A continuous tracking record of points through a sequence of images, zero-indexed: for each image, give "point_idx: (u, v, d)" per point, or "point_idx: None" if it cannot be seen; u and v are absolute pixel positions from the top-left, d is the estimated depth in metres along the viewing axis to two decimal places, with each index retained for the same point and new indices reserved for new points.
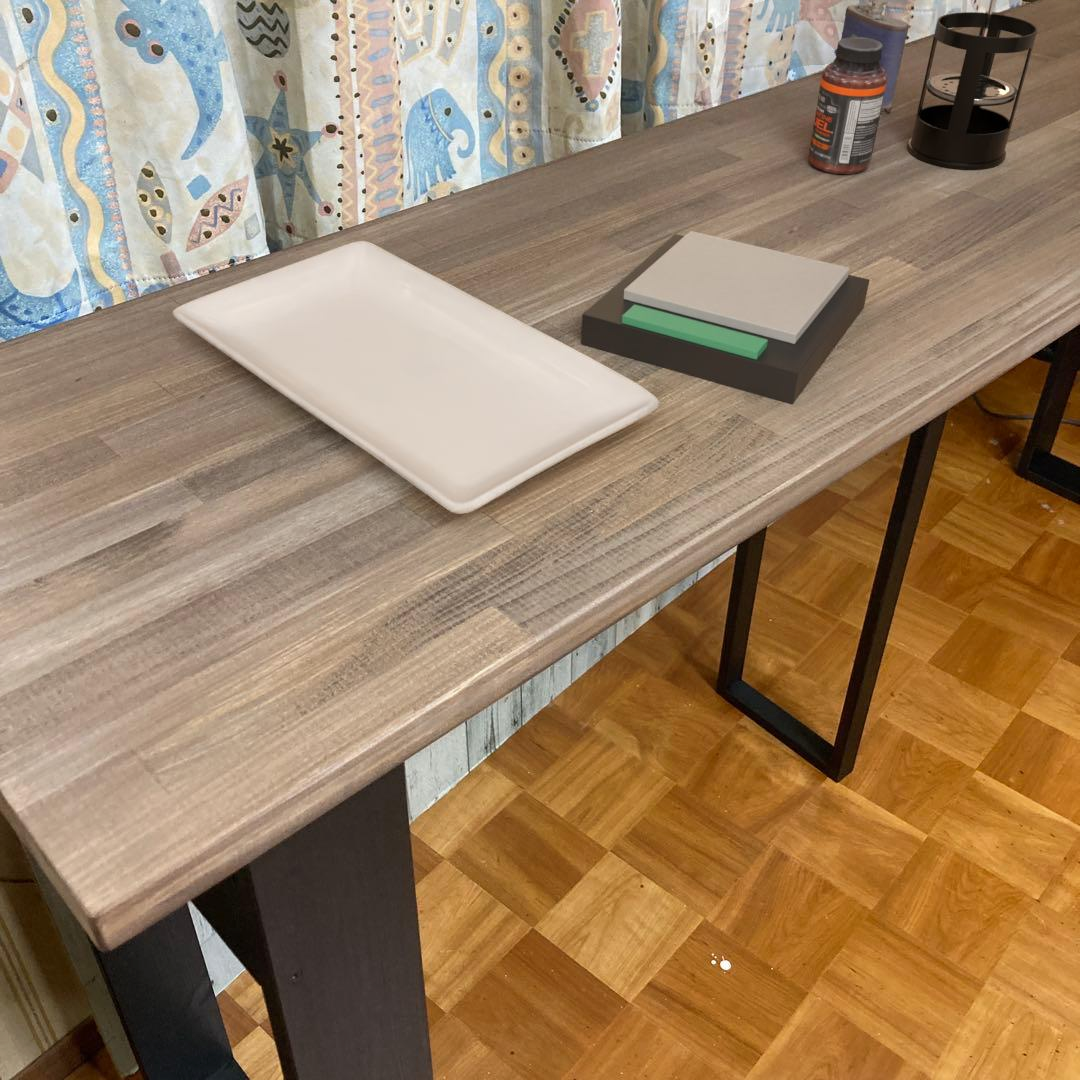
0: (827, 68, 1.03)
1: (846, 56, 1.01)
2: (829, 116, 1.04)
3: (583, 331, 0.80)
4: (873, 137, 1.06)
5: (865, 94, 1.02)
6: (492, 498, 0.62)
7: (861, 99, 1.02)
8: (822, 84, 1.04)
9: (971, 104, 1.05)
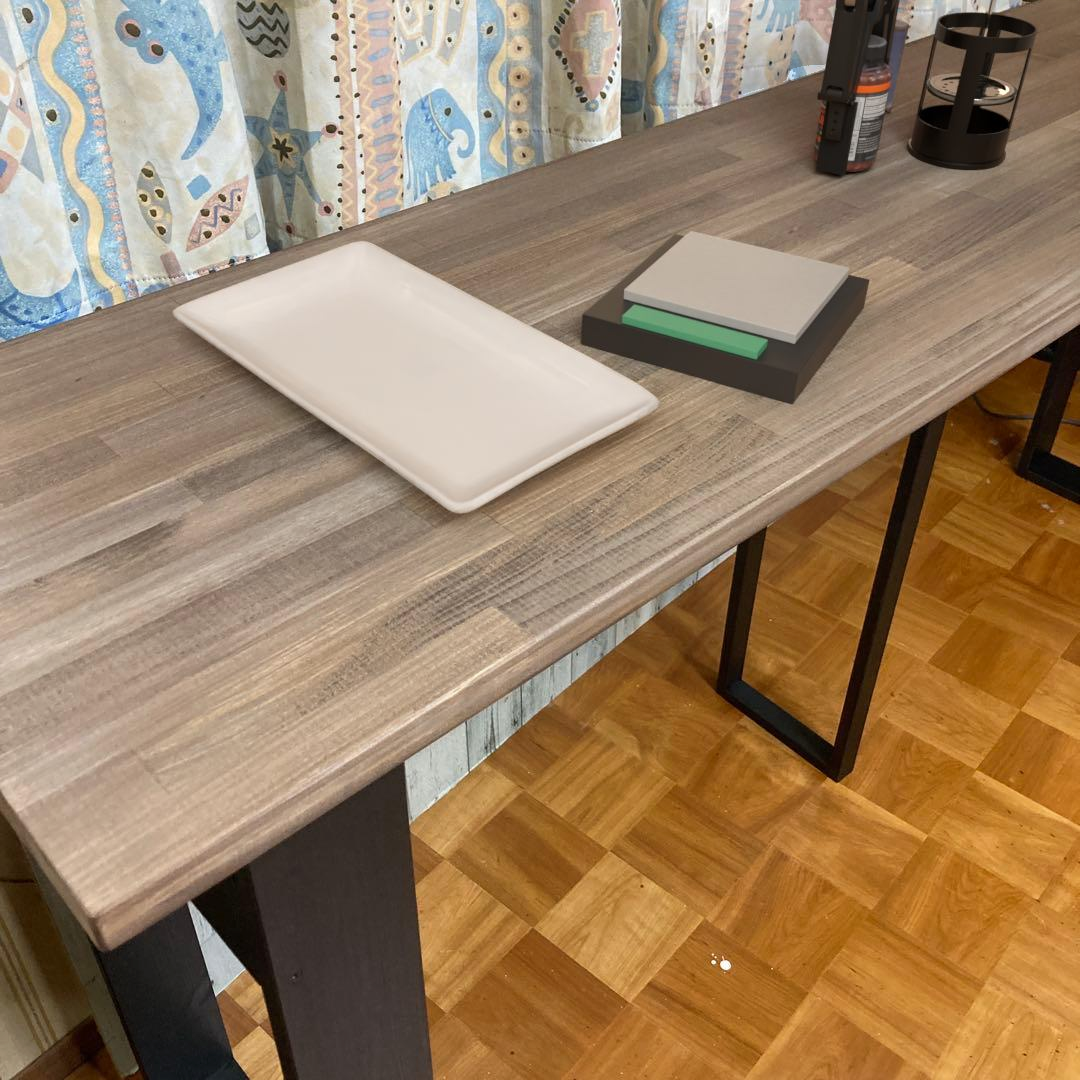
0: None
1: None
2: None
3: (583, 331, 0.80)
4: (878, 133, 1.05)
5: (869, 90, 1.02)
6: (492, 498, 0.62)
7: (865, 96, 1.02)
8: None
9: (971, 104, 1.05)
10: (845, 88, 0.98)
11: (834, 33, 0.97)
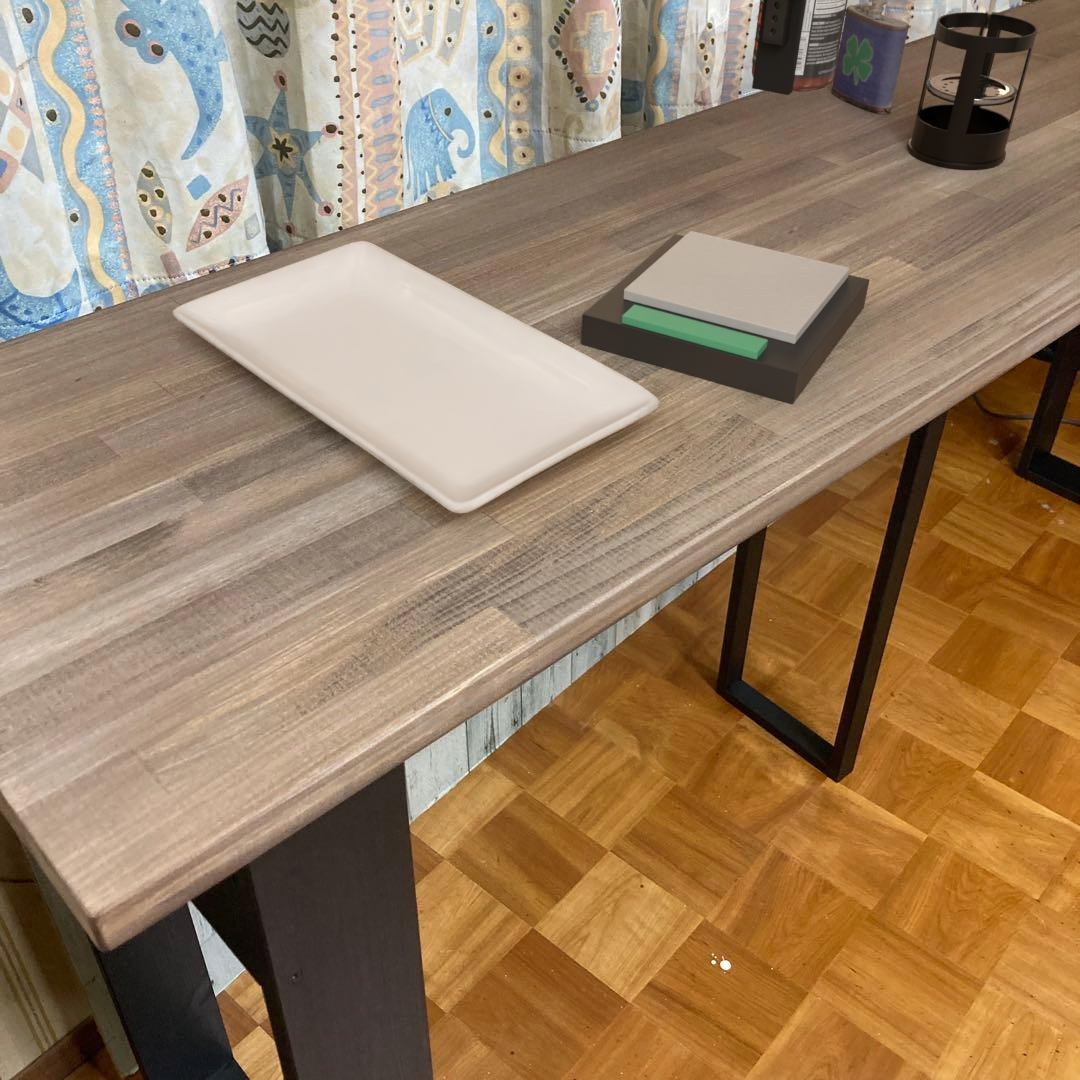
0: None
1: None
2: None
3: (583, 331, 0.80)
4: (837, 38, 0.78)
5: None
6: (492, 498, 0.62)
7: None
8: None
9: (971, 104, 1.05)
10: None
11: None
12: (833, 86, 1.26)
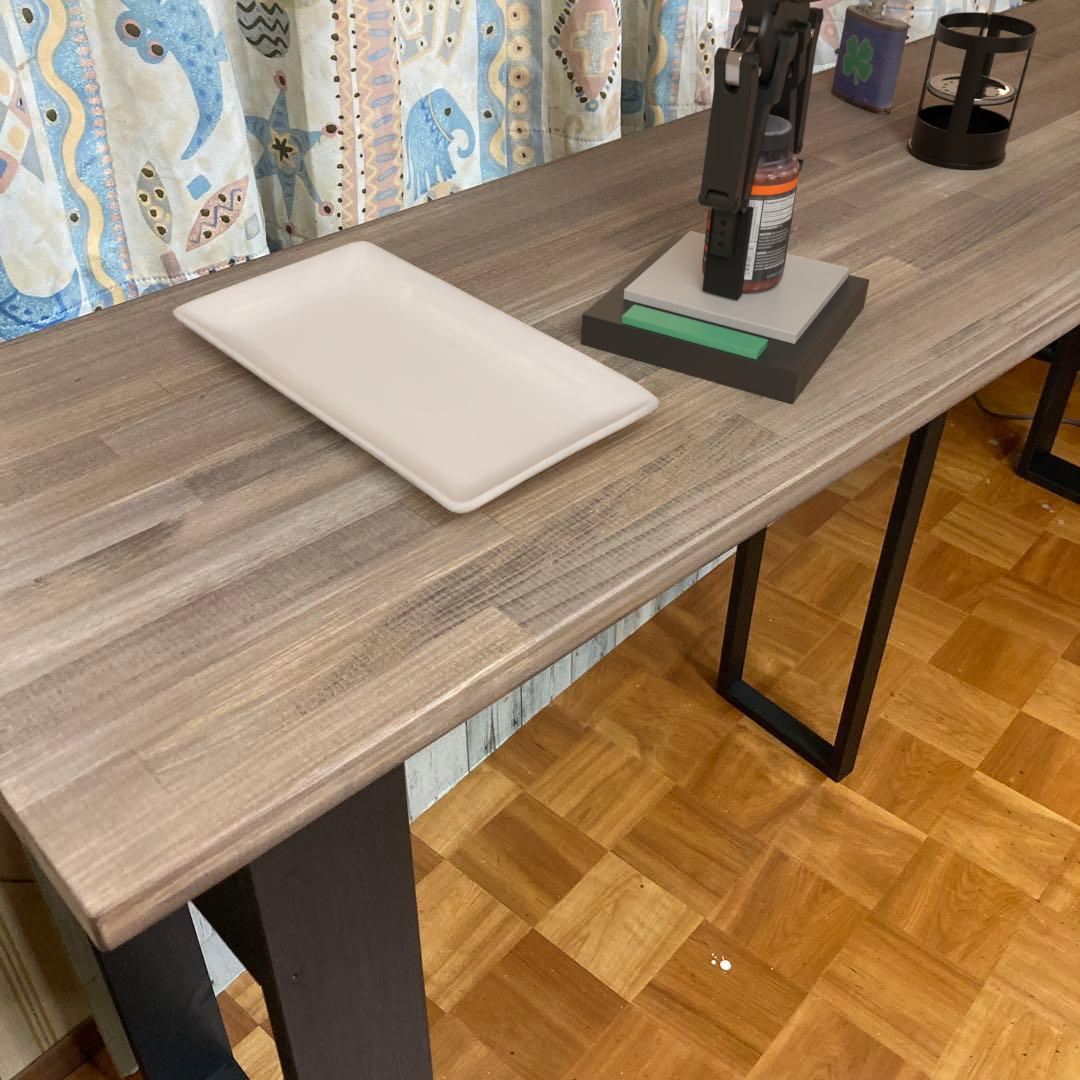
0: None
1: None
2: None
3: (583, 331, 0.80)
4: (784, 244, 0.79)
5: (768, 191, 0.75)
6: (492, 497, 0.62)
7: (763, 199, 0.76)
8: None
9: (971, 104, 1.05)
10: (731, 194, 0.72)
11: (714, 120, 0.70)
12: (833, 86, 1.26)
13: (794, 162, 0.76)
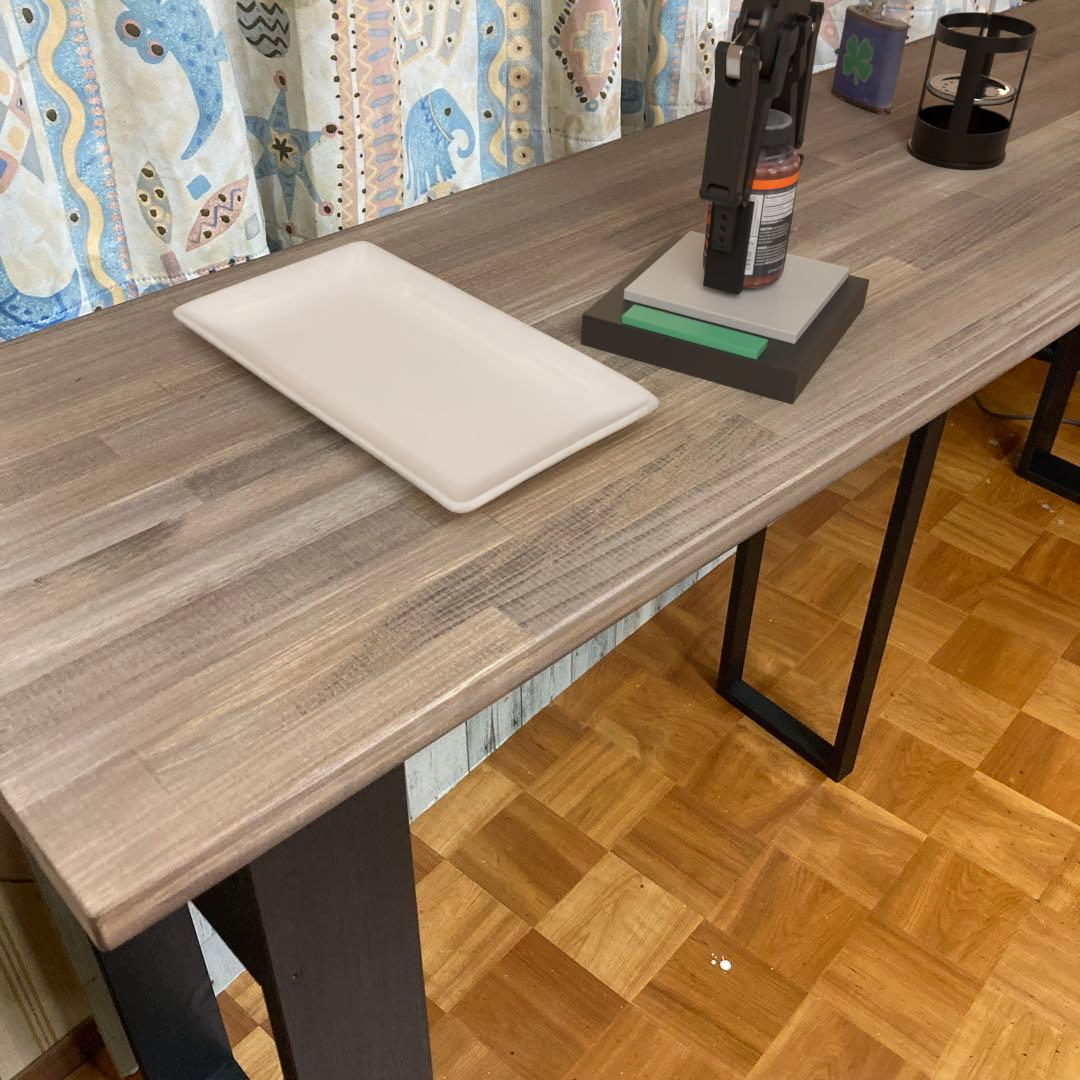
0: None
1: None
2: None
3: (583, 331, 0.80)
4: (785, 239, 0.79)
5: (769, 186, 0.75)
6: (492, 497, 0.62)
7: (763, 193, 0.75)
8: None
9: (971, 104, 1.05)
10: (732, 188, 0.72)
11: (714, 114, 0.70)
12: (833, 86, 1.26)
13: (795, 156, 0.76)
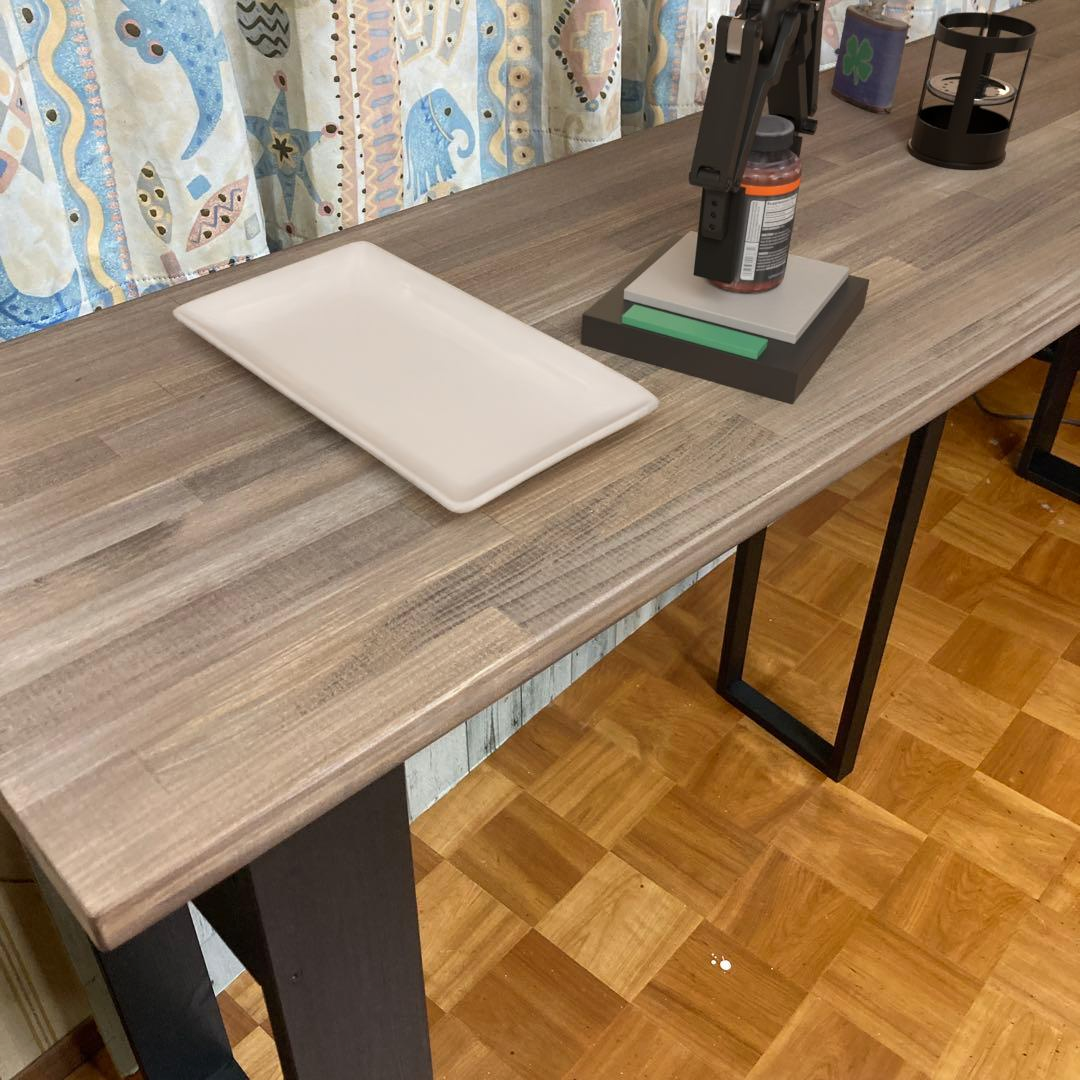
0: None
1: None
2: None
3: (583, 331, 0.80)
4: (786, 245, 0.79)
5: (770, 192, 0.75)
6: (492, 497, 0.62)
7: (765, 199, 0.76)
8: None
9: (971, 104, 1.05)
10: (722, 172, 0.69)
11: (711, 92, 0.68)
12: (833, 86, 1.26)
13: (796, 163, 0.76)
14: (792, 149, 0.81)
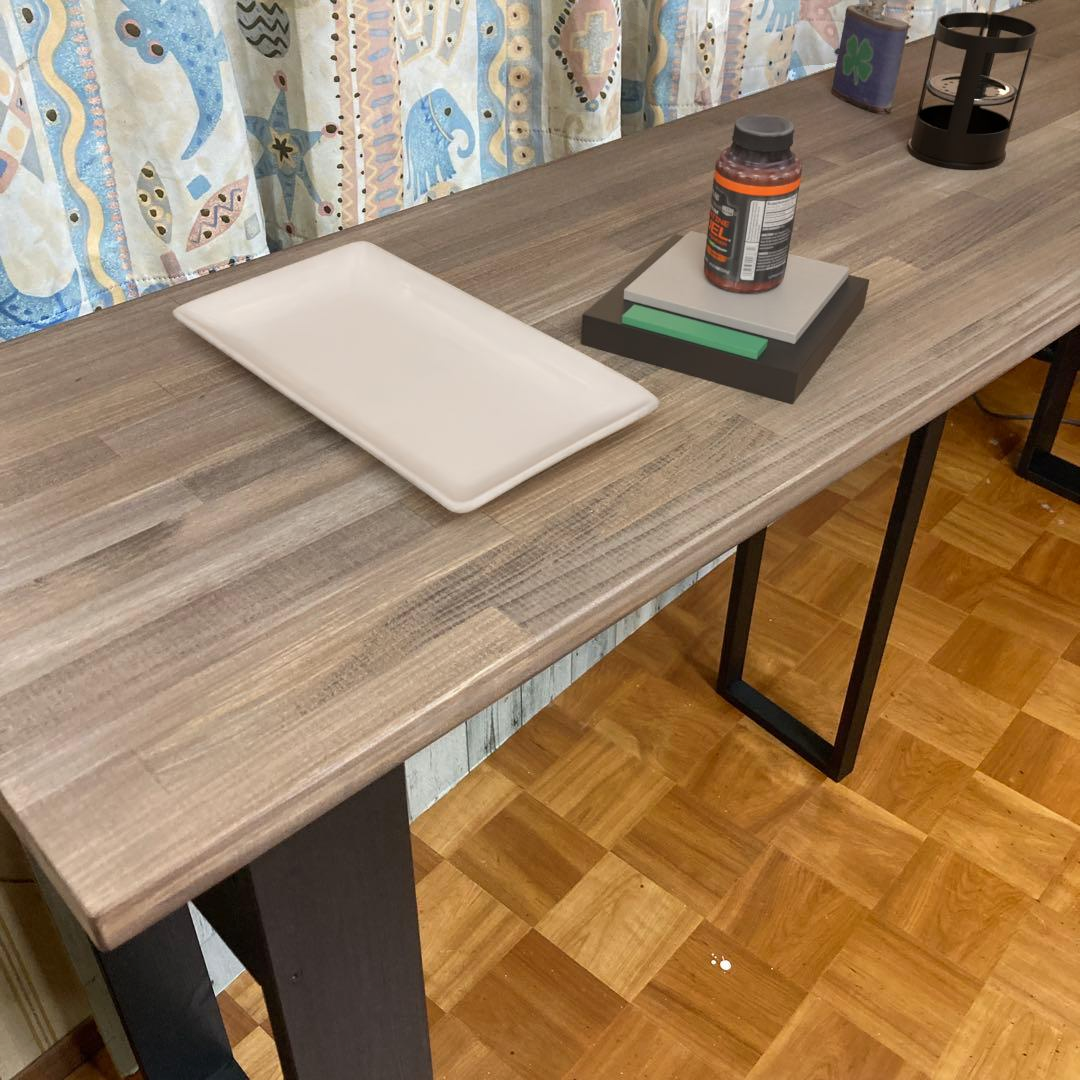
0: (722, 156, 0.77)
1: (744, 141, 0.75)
2: (726, 220, 0.78)
3: (583, 331, 0.80)
4: (786, 245, 0.79)
5: (770, 192, 0.75)
6: (492, 497, 0.62)
7: (765, 199, 0.76)
8: (715, 177, 0.77)
9: (971, 104, 1.05)
10: None
11: None
12: (833, 86, 1.26)
13: (796, 163, 0.76)
14: None
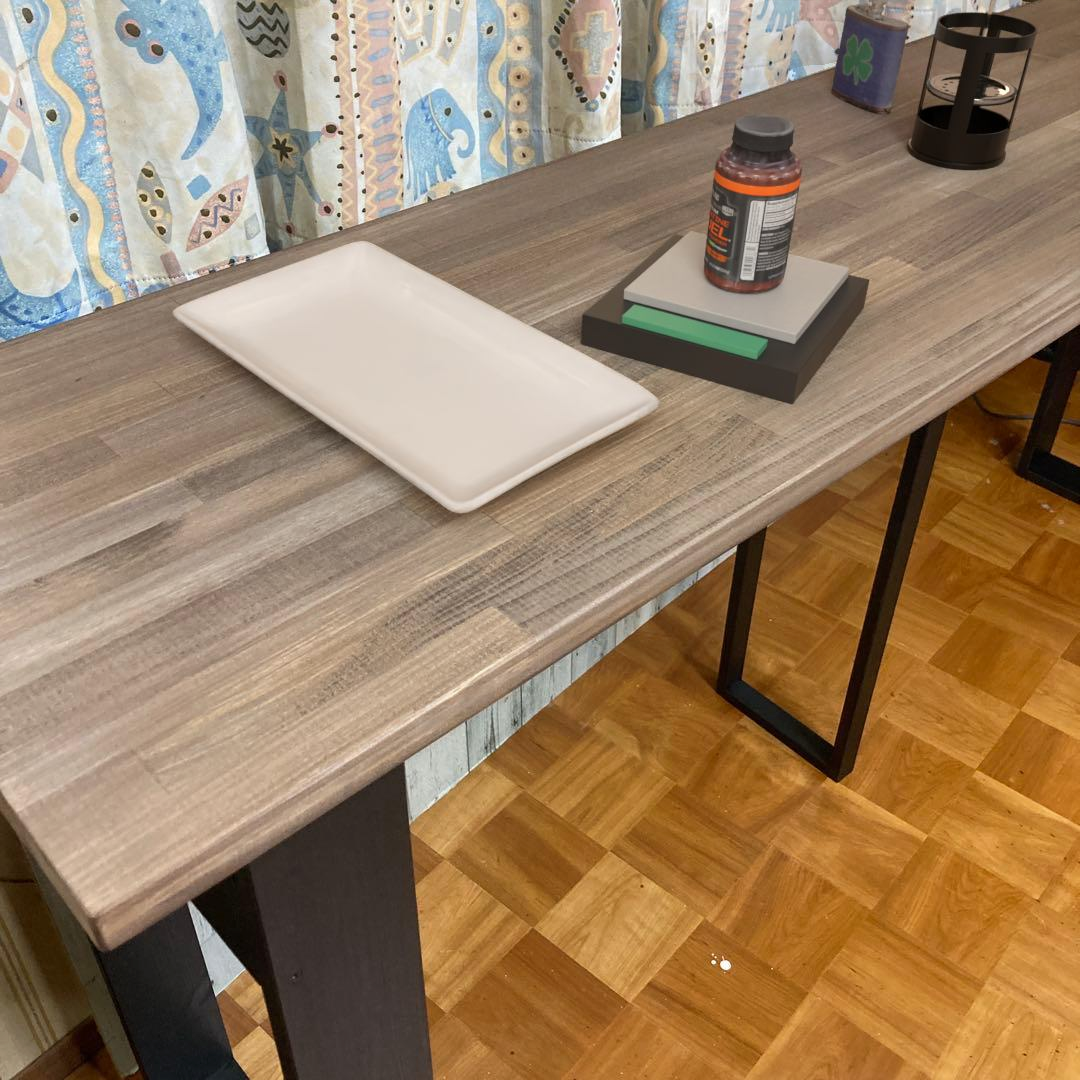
0: (722, 156, 0.77)
1: (744, 141, 0.75)
2: (726, 220, 0.78)
3: (583, 331, 0.80)
4: (786, 245, 0.79)
5: (770, 192, 0.75)
6: (492, 497, 0.62)
7: (765, 199, 0.76)
8: (715, 177, 0.77)
9: (971, 104, 1.05)
10: None
11: None
12: (833, 86, 1.26)
13: (796, 163, 0.76)
14: None
